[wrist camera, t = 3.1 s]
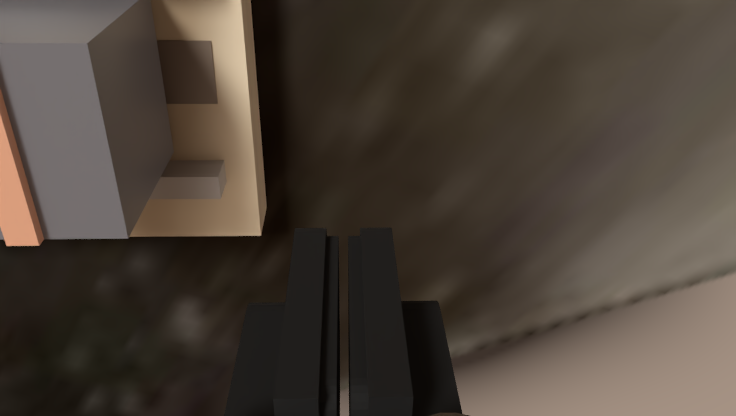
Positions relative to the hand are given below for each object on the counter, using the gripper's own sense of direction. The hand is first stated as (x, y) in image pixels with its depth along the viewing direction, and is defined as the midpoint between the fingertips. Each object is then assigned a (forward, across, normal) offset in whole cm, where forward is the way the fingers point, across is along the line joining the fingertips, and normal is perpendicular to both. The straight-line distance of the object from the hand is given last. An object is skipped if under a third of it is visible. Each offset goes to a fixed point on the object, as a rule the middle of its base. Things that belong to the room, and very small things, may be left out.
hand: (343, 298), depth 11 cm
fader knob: (+10, +8, -1) cm, 13 cm away
